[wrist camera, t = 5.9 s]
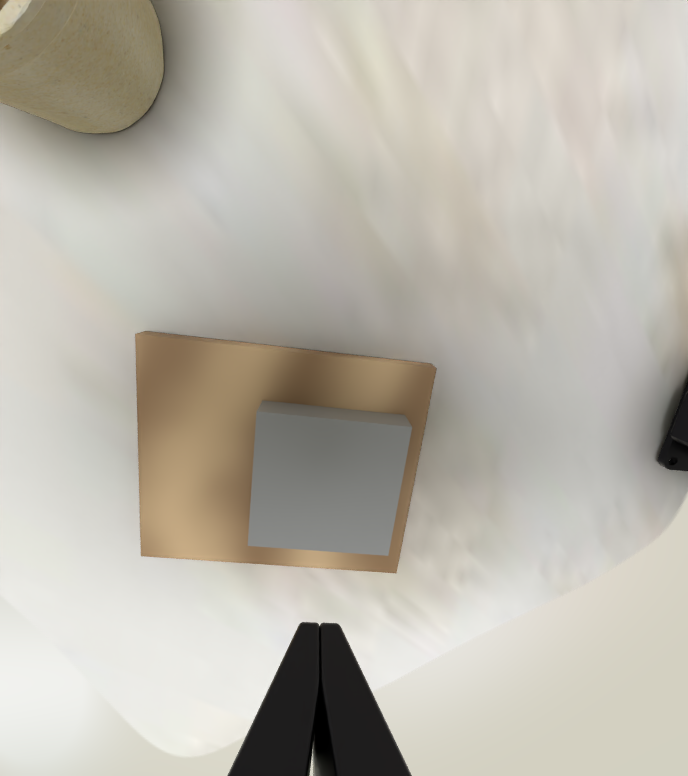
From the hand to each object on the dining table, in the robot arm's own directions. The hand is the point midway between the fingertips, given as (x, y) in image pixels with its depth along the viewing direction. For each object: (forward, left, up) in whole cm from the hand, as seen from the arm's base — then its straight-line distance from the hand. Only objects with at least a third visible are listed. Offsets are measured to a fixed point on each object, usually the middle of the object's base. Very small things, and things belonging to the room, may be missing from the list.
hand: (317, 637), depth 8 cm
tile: (+3, +2, -10) cm, 11 cm away
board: (+2, +2, -12) cm, 12 cm away
